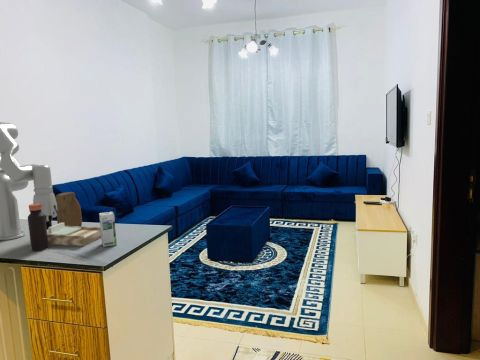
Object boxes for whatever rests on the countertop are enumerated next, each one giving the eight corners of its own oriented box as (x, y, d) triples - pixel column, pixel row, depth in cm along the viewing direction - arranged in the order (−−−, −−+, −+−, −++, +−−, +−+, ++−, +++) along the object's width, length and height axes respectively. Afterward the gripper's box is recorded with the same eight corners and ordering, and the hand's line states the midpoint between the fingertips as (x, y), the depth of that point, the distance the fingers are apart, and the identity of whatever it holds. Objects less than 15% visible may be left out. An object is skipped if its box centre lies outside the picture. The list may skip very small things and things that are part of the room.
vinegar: (31, 252, 160) (26, 207, 157) (31, 248, 165) (26, 204, 163) (49, 249, 163) (44, 204, 160) (48, 245, 169) (43, 202, 166)
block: (64, 234, 186) (60, 195, 183) (57, 232, 191) (52, 193, 188) (84, 229, 194) (80, 191, 191) (77, 227, 199) (73, 190, 196)
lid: (44, 235, 171) (43, 228, 171) (62, 228, 182) (61, 221, 182) (65, 236, 169) (64, 229, 168) (81, 229, 180) (80, 222, 179)
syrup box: (103, 247, 163) (100, 215, 161) (101, 243, 168) (98, 212, 166) (116, 245, 166) (114, 213, 164) (114, 241, 171) (112, 210, 169)
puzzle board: (41, 244, 170) (40, 234, 170) (64, 234, 185) (63, 225, 184) (83, 246, 165) (82, 236, 165) (103, 236, 180) (102, 227, 179)
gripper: (24, 192, 173) (29, 230, 176) (51, 192, 169) (56, 231, 172) (36, 189, 180) (41, 226, 183) (62, 189, 177) (67, 227, 179)
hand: (48, 228), depth 177 cm, fingers closed
